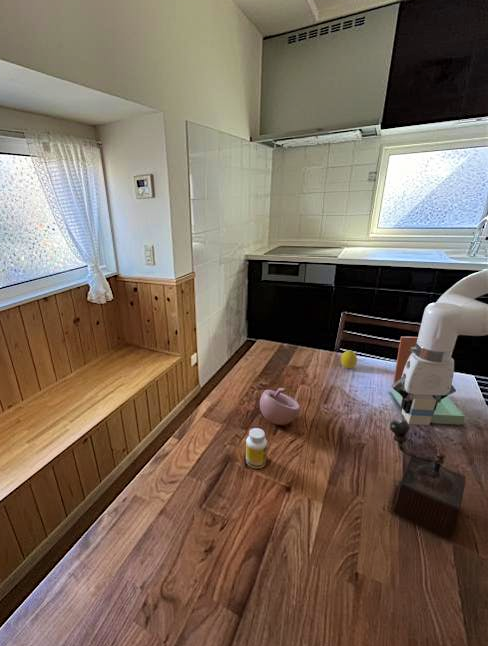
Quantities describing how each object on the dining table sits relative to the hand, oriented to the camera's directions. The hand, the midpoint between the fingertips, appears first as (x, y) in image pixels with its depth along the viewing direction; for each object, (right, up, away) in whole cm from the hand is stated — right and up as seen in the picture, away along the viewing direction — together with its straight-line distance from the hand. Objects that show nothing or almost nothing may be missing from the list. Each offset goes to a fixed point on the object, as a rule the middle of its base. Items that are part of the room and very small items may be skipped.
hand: (417, 410), depth 91 cm
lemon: (0, +7, +39) cm, 40 cm away
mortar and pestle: (-34, -6, +14) cm, 37 cm away
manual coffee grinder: (-11, -18, -15) cm, 26 cm away
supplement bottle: (-44, -14, 0) cm, 46 cm away
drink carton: (0, -3, +1) cm, 3 cm away
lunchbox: (+12, -3, +15) cm, 19 cm away
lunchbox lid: (+13, +12, +17) cm, 24 cm away
